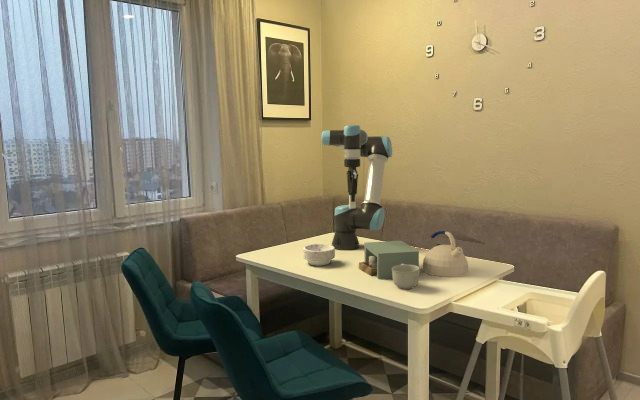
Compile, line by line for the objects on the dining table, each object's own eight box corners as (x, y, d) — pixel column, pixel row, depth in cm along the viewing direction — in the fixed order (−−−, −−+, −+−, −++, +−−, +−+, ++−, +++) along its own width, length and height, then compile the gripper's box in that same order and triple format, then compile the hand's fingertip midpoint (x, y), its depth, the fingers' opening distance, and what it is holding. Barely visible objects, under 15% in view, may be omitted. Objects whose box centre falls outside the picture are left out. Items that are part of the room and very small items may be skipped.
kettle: (441, 279, 202) (442, 237, 199) (412, 267, 220) (413, 229, 218) (479, 273, 210) (480, 233, 207) (448, 262, 228) (449, 225, 226)
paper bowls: (320, 269, 220) (320, 252, 218) (296, 263, 230) (296, 247, 229) (341, 262, 231) (341, 246, 230) (318, 257, 241) (318, 242, 240)
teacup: (419, 291, 186) (419, 271, 185) (390, 290, 188) (391, 270, 187) (419, 281, 200) (419, 262, 199) (392, 279, 202) (392, 261, 201)
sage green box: (364, 265, 225) (364, 242, 223) (401, 263, 228) (401, 240, 227) (378, 278, 203) (378, 253, 202) (418, 276, 207) (418, 251, 205)
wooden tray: (359, 270, 219) (359, 255, 218) (389, 266, 225) (389, 251, 224) (371, 276, 208) (371, 261, 207) (403, 272, 214) (403, 257, 213)
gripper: (341, 158, 230) (341, 206, 233) (347, 159, 217) (347, 210, 221) (356, 157, 231) (356, 206, 235) (363, 158, 219) (363, 209, 222)
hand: (352, 208), depth 228 cm, fingers closed
